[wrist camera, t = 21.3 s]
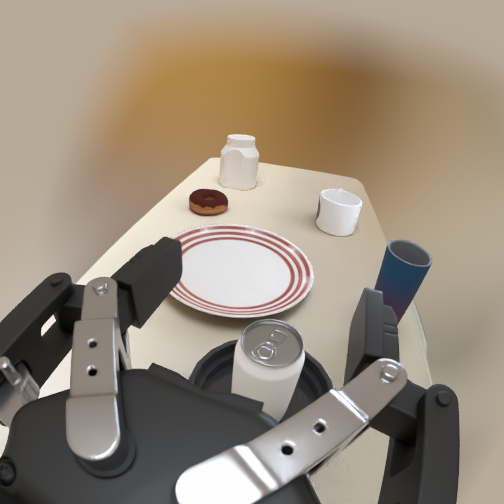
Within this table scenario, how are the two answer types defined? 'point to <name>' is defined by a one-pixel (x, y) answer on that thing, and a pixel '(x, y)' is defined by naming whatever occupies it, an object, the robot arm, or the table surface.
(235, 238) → the dinner plate
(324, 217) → the mug
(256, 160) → the jar
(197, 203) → the donut
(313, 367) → the pan
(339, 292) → the table surface
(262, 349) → the can
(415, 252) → the cup
